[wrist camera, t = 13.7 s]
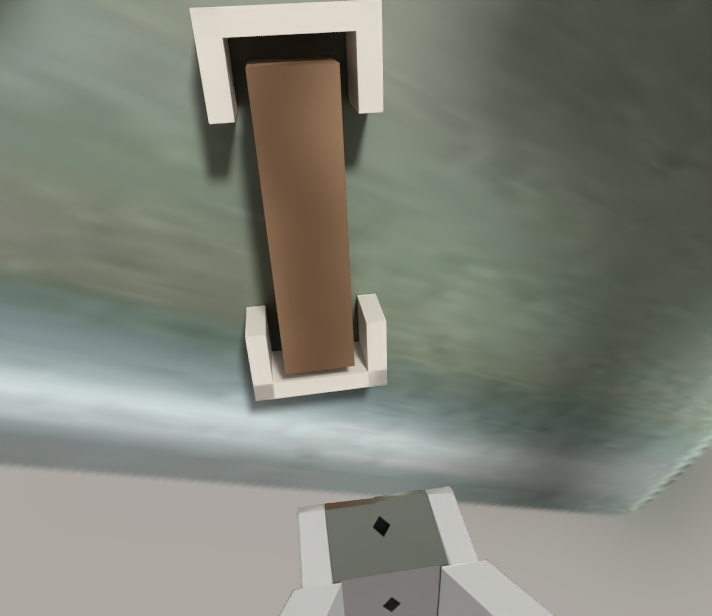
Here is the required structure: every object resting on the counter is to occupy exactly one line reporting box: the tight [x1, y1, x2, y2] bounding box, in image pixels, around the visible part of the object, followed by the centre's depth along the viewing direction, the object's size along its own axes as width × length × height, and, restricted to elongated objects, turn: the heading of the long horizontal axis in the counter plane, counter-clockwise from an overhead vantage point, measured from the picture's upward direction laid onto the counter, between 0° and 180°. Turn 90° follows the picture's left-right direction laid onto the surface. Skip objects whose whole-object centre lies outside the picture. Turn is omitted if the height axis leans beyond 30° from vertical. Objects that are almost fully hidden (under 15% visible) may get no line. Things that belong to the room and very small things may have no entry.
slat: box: [246, 55, 355, 375], centre depth 25 cm, size 4×14×4 cm, turn 2°
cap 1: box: [190, 0, 383, 124], centre depth 22 cm, size 7×4×3 cm, turn 92°
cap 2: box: [245, 294, 387, 401], centre depth 29 cm, size 7×4×3 cm, turn 92°
